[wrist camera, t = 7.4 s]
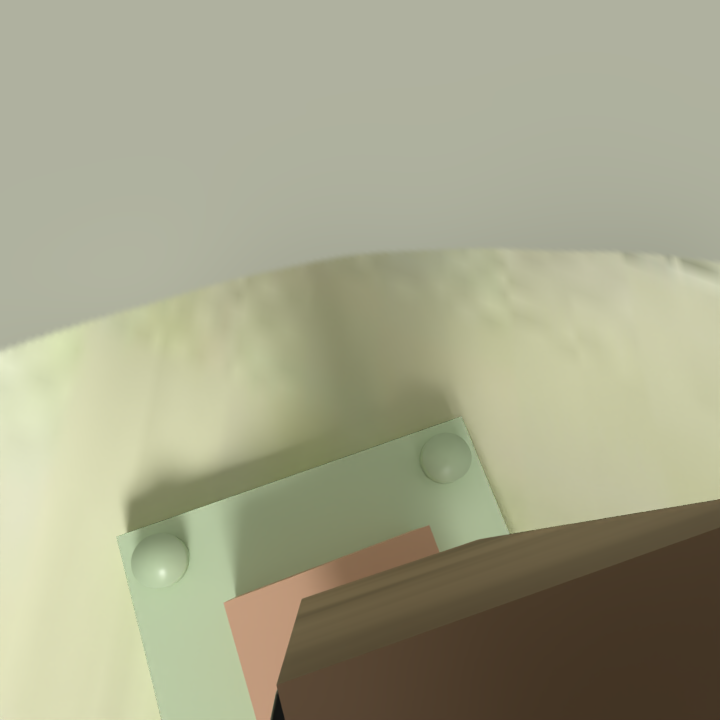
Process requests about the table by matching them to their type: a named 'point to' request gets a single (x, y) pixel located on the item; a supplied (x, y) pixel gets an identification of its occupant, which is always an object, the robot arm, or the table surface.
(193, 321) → the table surface
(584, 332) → the table surface
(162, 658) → the sage baseplate
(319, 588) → the terracotta base brick
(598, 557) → the walnut tall brick
